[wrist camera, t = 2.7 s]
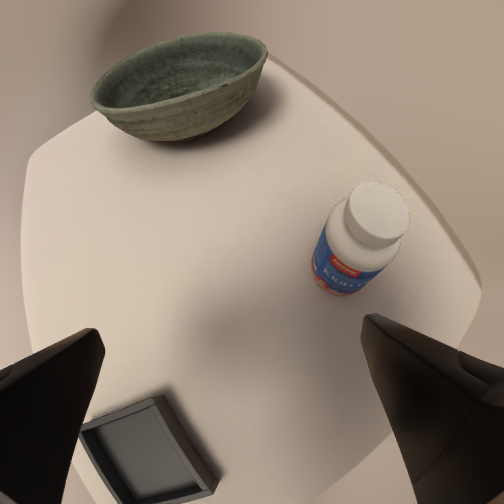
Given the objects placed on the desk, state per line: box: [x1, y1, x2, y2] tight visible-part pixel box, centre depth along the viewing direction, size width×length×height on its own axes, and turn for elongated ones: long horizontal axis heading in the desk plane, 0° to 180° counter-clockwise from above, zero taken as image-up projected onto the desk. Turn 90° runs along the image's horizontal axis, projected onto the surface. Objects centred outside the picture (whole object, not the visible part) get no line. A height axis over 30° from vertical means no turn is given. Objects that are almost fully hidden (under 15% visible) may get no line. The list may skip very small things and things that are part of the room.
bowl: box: [90, 32, 268, 141], centre depth 28 cm, size 21×21×10 cm
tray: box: [78, 395, 219, 504], centre depth 16 cm, size 9×9×3 cm
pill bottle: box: [311, 181, 410, 295], centre depth 19 cm, size 6×5×10 cm
